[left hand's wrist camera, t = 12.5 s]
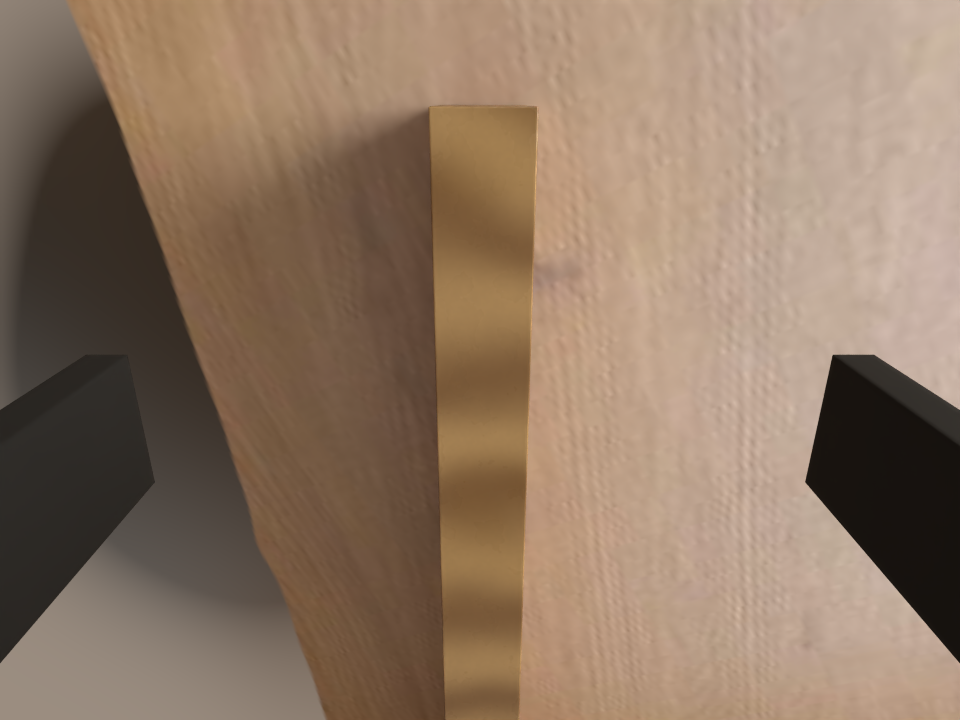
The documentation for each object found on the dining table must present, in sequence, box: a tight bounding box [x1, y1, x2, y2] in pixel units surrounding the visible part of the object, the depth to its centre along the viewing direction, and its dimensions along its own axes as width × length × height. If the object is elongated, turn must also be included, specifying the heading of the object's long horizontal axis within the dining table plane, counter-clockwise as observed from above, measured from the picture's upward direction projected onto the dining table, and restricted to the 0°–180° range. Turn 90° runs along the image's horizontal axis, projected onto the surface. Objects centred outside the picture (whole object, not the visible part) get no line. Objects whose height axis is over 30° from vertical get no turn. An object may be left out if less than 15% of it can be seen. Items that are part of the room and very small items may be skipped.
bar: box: [429, 105, 538, 720], centre depth 39 cm, size 53×4×7 cm, turn 0°
